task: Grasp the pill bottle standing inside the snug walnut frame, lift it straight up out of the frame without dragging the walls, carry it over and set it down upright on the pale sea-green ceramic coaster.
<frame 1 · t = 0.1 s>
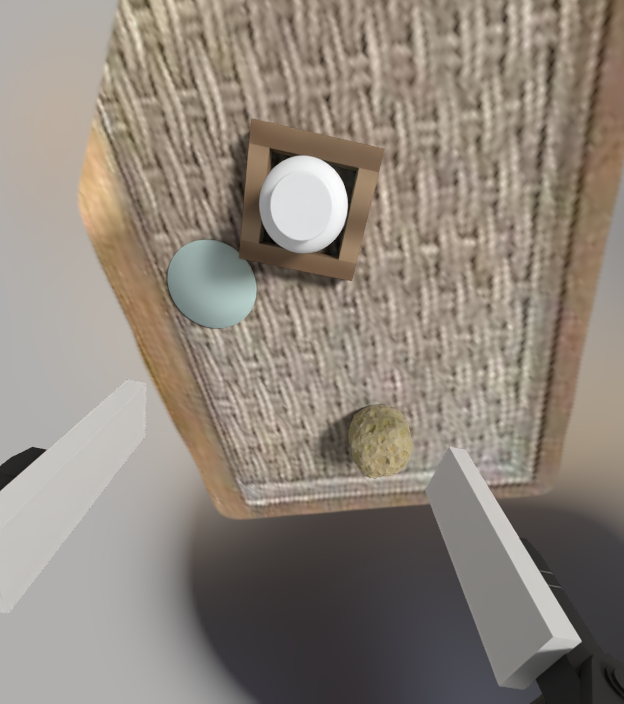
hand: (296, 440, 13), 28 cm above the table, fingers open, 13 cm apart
walnut frame: (307, 207, 35), on the table
coaster: (213, 285, 39), on the table
decorative object: (375, 426, 48), on the table
pill bottle: (307, 207, 35), resting in walnut frame
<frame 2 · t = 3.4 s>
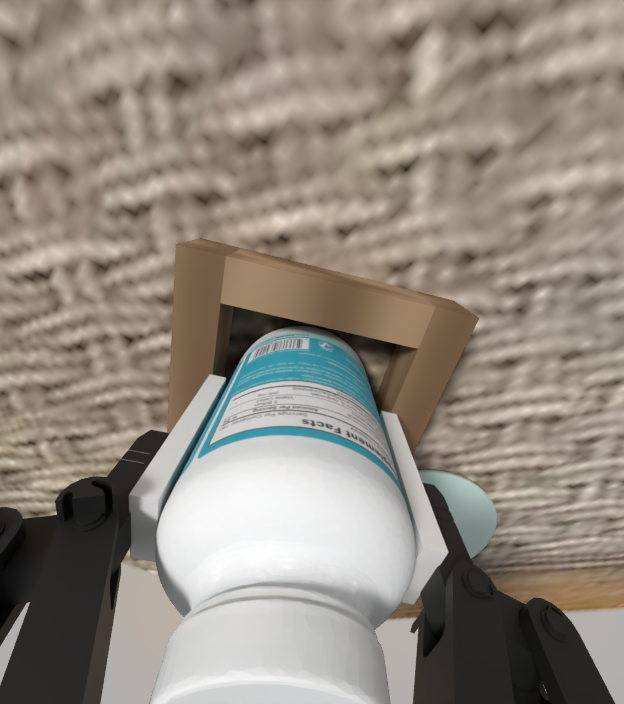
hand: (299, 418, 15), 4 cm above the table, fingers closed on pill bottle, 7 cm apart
walnut frame: (302, 380, 18), on the table
coaster: (417, 524, 23), on the table
pill bottle: (302, 378, 18), resting in walnut frame, touching gripper
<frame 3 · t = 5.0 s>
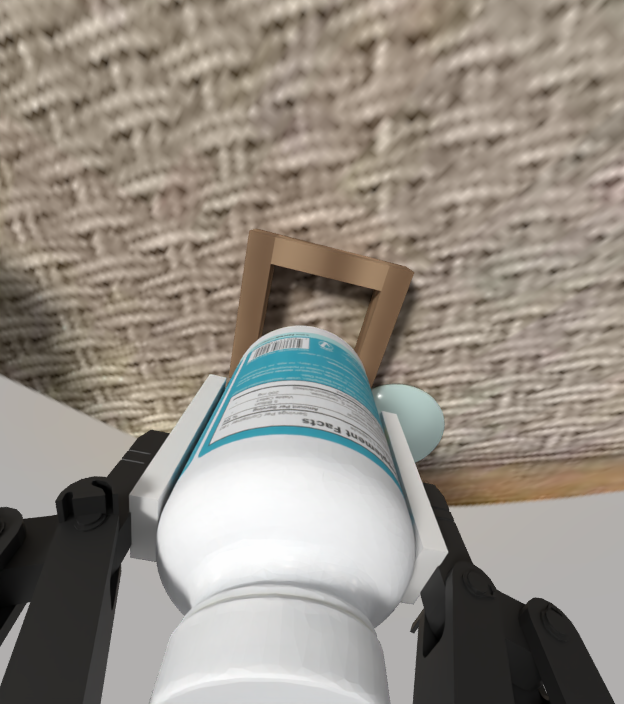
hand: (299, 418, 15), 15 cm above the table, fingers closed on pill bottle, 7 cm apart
walnut frame: (314, 319, 29), on the table
coaster: (391, 427, 34), on the table
pill bottle: (302, 378, 18), point 11 cm above the table, touching gripper
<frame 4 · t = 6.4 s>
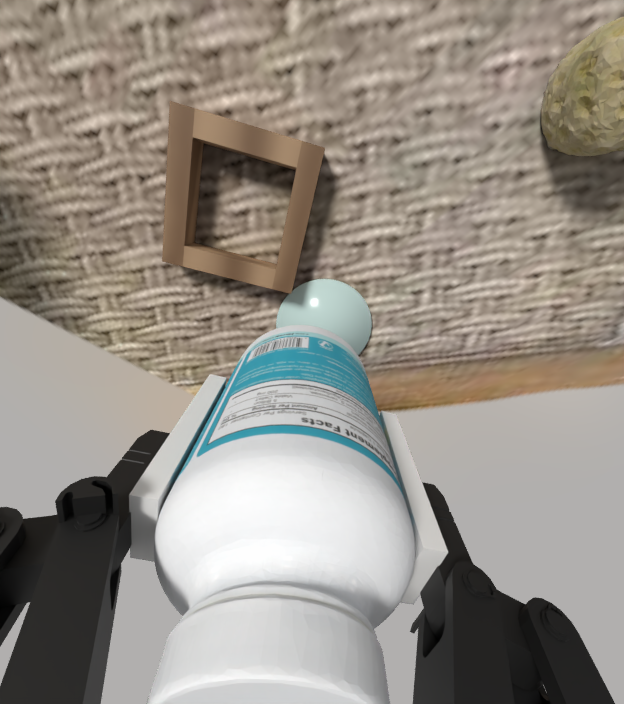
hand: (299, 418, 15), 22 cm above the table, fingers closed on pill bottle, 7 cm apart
walnut frame: (244, 208, 31), on the table
coaster: (323, 326, 36), on the table
decorative object: (588, 101, 27), on the table
pill bottle: (302, 378, 18), point 18 cm above the table, touching gripper
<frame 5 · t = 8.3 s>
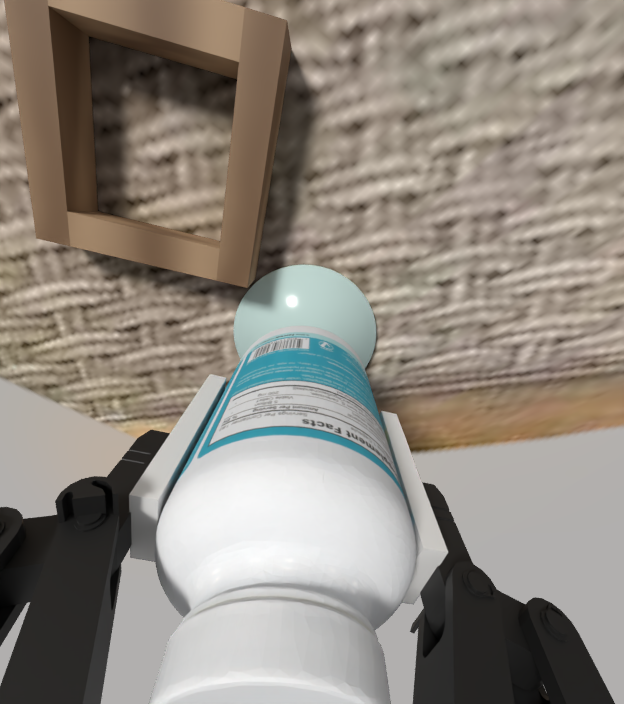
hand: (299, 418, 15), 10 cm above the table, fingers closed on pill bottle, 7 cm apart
walnut frame: (168, 152, 19), on the table
coaster: (304, 336, 24), on the table
pill bottle: (302, 378, 18), point 7 cm above the table, touching gripper
when the fingers open (5 cm above the table, at t = 9.9 s): pill bottle drops 1 cm, resting on coaster.
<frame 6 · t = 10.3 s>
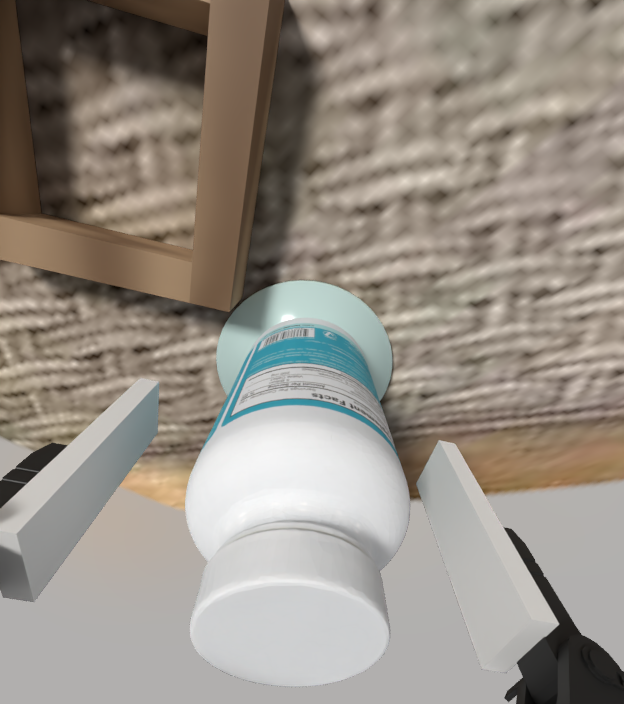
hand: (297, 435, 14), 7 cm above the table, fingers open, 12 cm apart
walnut frame: (126, 136, 15), on the table
coaster: (304, 366, 20), on the table
pill bottle: (307, 367, 20), resting on coaster
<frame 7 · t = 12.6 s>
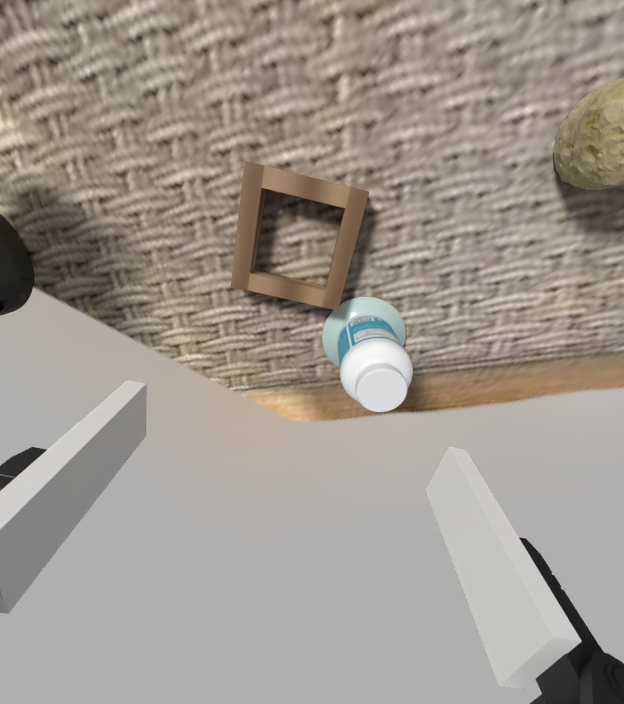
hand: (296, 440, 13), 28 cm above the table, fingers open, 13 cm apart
walnut frame: (297, 240, 37), on the table
coaster: (363, 336, 41), on the table
decorative object: (595, 142, 32), on the table
pill bottle: (365, 337, 41), resting on coaster
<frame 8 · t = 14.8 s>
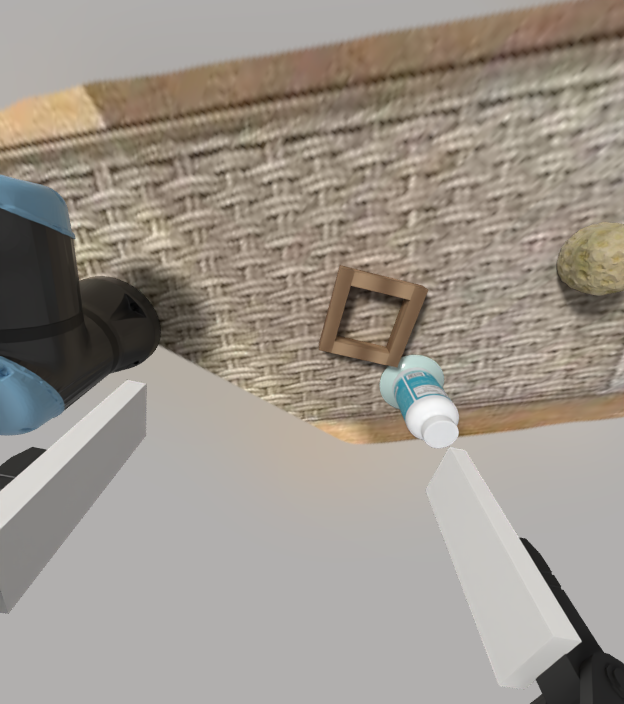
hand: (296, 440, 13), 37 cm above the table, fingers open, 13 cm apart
walnut frame: (368, 315, 49), on the table
coaster: (411, 382, 54), on the table
decorative object: (585, 256, 45), on the table
pill bottle: (412, 383, 54), resting on coaster
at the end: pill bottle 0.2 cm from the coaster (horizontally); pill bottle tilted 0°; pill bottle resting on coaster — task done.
